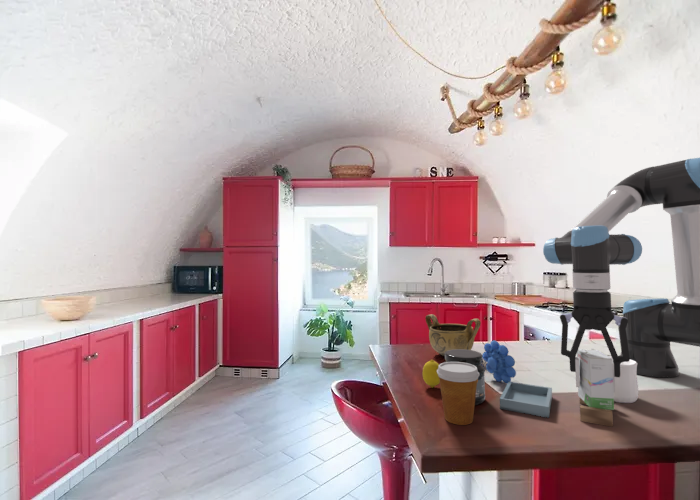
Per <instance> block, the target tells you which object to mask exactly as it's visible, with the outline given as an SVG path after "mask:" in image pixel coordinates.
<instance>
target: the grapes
mask: <svg viewBox="0 0 700 500" xmlns="http://www.w3.org/2000/svg"><path fill="white" fill-rule="evenodd" d="M483 347H484V348H483V349H484V352H483V353H482V357H483V361H484V362H486V364H485V370H486V371H487V372H488V373H490V374H492V375H493V376H492V377H493V379H494V380H495V381H496V382H503V383H505V384H506V385H507V384H508V382H512V378H513V379H514V378H515V377H516V376H517V371H516V369H515V368H514V367H515V363H516V361H515V358H514V357H513V356H511V355H510V354H509V348H508V347H507V346H506V345H504V344H500V343H499V342H498V341H497V340H492V341H491V342H490V343H489V342H487V343H485V344H484V346H483Z"/></svg>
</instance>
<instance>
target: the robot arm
mask: <svg viewBox="0 0 700 500" xmlns="http://www.w3.org/2000/svg"><path fill="white" fill-rule="evenodd" d="M661 204H662V211H664V212H666V213H668V215H670V224H671V235H672V236H671V237H672V247H673V259H674V270H675V280H676V281H675V282H676V290H677V293H676V295H675V296H674V297H673V298H671V302H670V300H669V299H668V298H664V297H663V298H661V297H660V298H639V299H628V300H626V301H624V302H623V308H622V309H623V310H622V316H619V315H615V314H614V312H613V311H612V294H611V292H610V291H609V290H610V289H611V274H610V272H611V269H610V266H612V265H621V266H622V265H623V266H625V265H628V264H632V263H635V262H636V261H638V260H639V259H640V257H641V256H642V253H643V246H642V243H641V242H640V240H639V239H638V238H637V237H635V236H633V235H629V234H625V233H621V234H620V233H619V234H618V233H617V234H610V231H611V230H612V229H614V227H616V226H617V225H618V224H619V223H620V222H621V221H622V220H623V219H624V218H625V217H626V216H627V215H628V214H631V213H635V212H636V211H638V210H639V209H640V208H644V207H646V206H647V207H648V206H652V205H653V206H654V205H661ZM542 249H543V256H544V258H545V260H546V261H547V262H548V263H550V264H556V265H561V266H562V265H572V288H573V289H575V290H574V291H573V292H572V293H573V294H572V295H573V299H572V300H573V301H572V302H573V303H572V304H573V309H572V311H571V312H569V313H560V315H559V318H560V322H561V325H562V326H561V341H560V342H561V345H560V354H561V355H562V356H565V357H568V359H569V371H570V372H571V373H572V372H573V373H575V387H576V388H578V387H580V378H579V357H577V351H578V349H580V345H581V342H582V340H583V337H584V334H585V331H591V330H593V331H597V332H598V331H600V332H601V335H602V337H603V339H604V342H605V344H606V346H607V348H608V351H609V354H610V356H612V359H613V361H612V366H613V392H615V378H614V377H620V363H622V362H628V361H629V360H633V361H636V362H637V375H639V376H640V375H641V376H647V377H653V378H675V377H676V378H677V377H678V376H679V373H680V372H679V371H680V370H679V366H678V363H677V360H676V358H675V356H674V353H673V352H672V350H671V343H675V344H682V345H689V346H693V347H694V346H695V347H700V157H694V158H688V159H683V160H679V161H675V162H671V163H670V162H668V163H665V164H661V165H655V166H649V167H645V168H642V169H641V170H638V171H636V172H634V173H632V174H630V175H629V176H627V177H625V178H624V179H622V180H621V181H620V182H618V183H617V184H616V185H614V186H613V187H612V188H611V189H610V190H609V191H608V193H607V195H606V198H605V199H603V200H602V201H600V203H599V204H598V205H597V206H596V207H595V208H593V209H592V210H591V211H590V212H589V213H587V214H586V215H585V216H584V217H583V218H582V219H581V220H579V222H578V223H576V224H575V225H573V227H571V229H570V230H568V231H567V232H566V233H564V235H562V236H561V237H554V238H549V239H547V240H546V241H545V243H544V245H543V248H542ZM572 318H573V319H574V321H575V322H576V323H577V324H578V327H577V328H578V329H577V331H576V335H575V337H574V340H573V343H572V346H571V349H570V350H569V349H567V348H568V334H569V333H568V331H569V323H570V322H571V319H572ZM612 321H615V324H616V326H617V327H618V337H619V344H620V350H621V352H620V355H618V352H617V350H616V347H615V346H614V343H613V341H612V339H611V337H610V333H609V331H608V329H607V327H608V326H609V325H610V323H611V322H612Z"/></svg>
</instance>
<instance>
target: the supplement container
mask: <svg viewBox="0 0 700 500" xmlns="http://www.w3.org/2000/svg"><path fill="white" fill-rule="evenodd" d="M482 355H483V353H481V352H479V351H477V350H472V349H471V350H466V349H453V350H448V351H446V352H445V356H444V360H445V362H463V363H469V364H472V365H474V366H476V367H477V370H478V372H479V377H478V379H477V387H476V397H475V406H477V405H480V404H482V403H484V401H485V399H486V386H485V385H486V384H485V381H486V379H485V377H486V376H485V371H486V367H485V366H484V365H483V361H484V359H483V357H482Z"/></svg>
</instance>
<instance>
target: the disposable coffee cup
mask: <svg viewBox="0 0 700 500" xmlns="http://www.w3.org/2000/svg"><path fill="white" fill-rule="evenodd" d="M437 374H438V376H439V381H440V383H439V386H440V393H441V400H442V409H443V415H444V420H445V421H446V422H448V423H450V424H453V425H458V426H467V425H470V424H472V423H473V422H474V415H475V414H474V413H475V406H476V405H475V397H476V387H477V379H478V377H479V372H478V370H477V367H476V366H474V365H472V364H469V363H463V362H446V361H444V362H442V363H439V367H438V369H437Z"/></svg>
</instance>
